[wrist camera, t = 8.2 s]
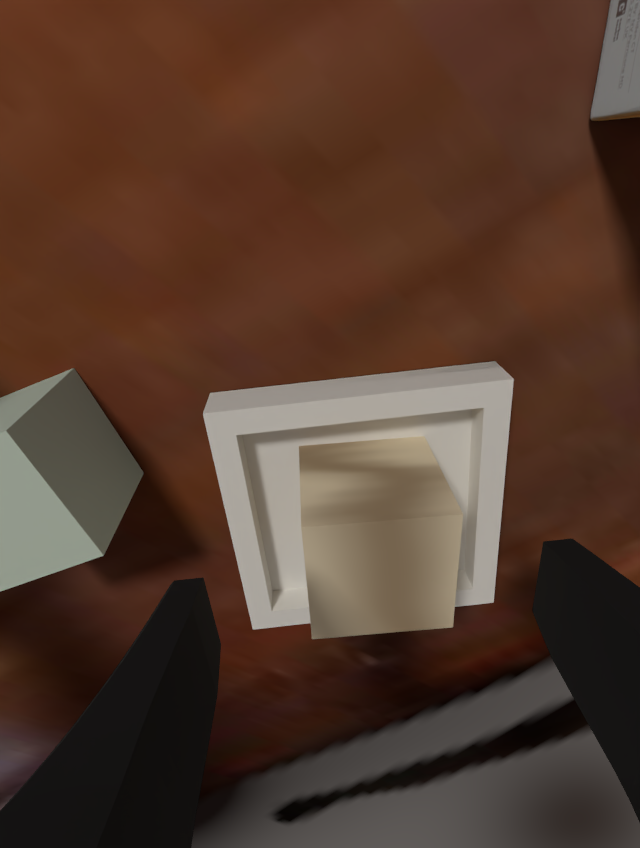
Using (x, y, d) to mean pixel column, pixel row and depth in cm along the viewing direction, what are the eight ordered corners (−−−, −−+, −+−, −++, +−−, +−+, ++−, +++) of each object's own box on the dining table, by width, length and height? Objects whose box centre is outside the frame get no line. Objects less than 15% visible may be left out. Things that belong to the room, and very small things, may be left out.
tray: (255, 598, 24) (252, 629, 22) (210, 392, 19) (202, 413, 17) (480, 573, 24) (493, 602, 22) (494, 361, 19) (513, 379, 17)
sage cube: (40, 510, 21) (-27, 600, 17) (-39, 413, 19) (-140, 488, 15) (144, 472, 21) (103, 555, 16) (75, 367, 18) (5, 430, 14)
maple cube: (307, 543, 22) (312, 639, 17) (298, 445, 20) (301, 527, 15) (420, 534, 22) (452, 627, 18) (424, 436, 20) (463, 514, 15)
